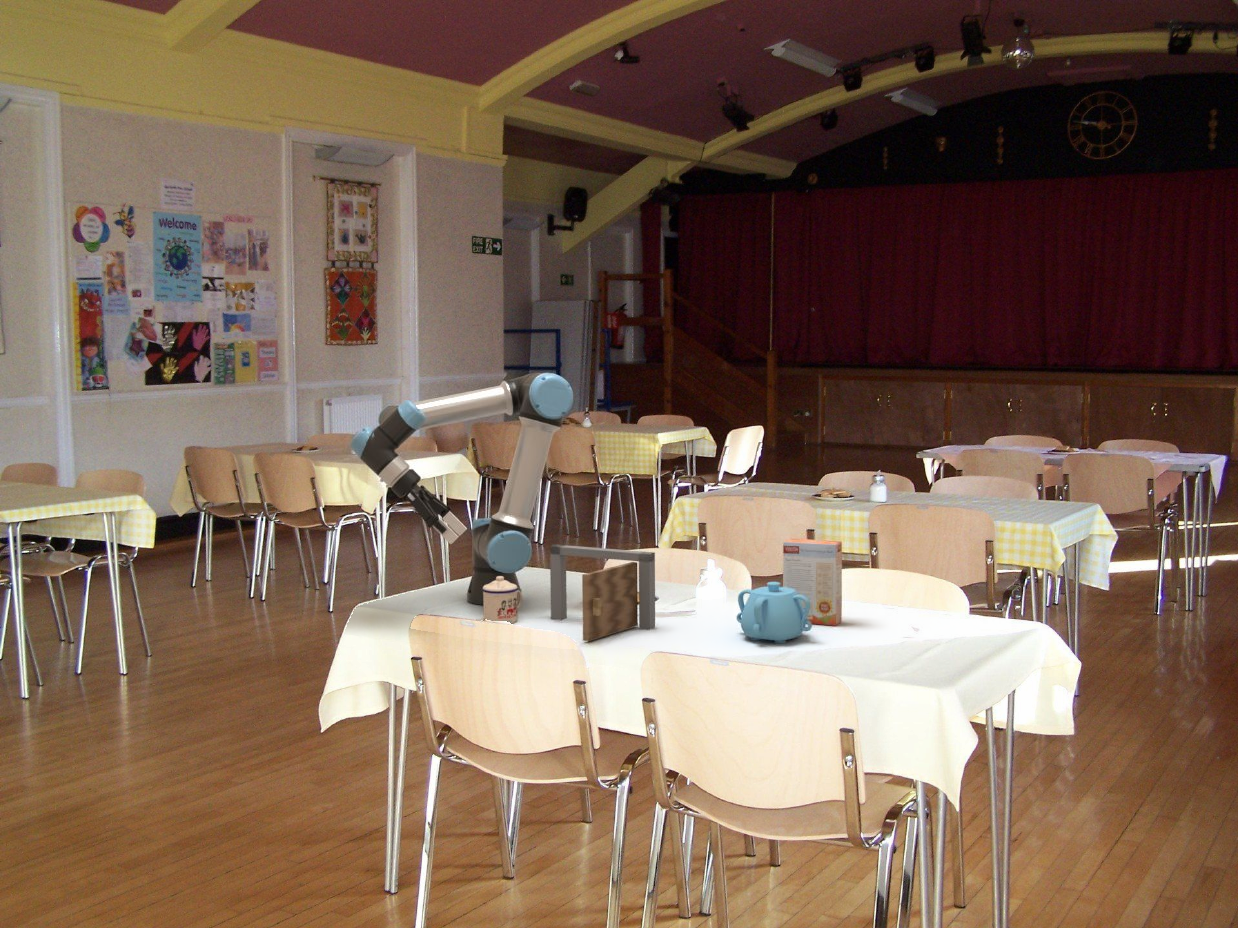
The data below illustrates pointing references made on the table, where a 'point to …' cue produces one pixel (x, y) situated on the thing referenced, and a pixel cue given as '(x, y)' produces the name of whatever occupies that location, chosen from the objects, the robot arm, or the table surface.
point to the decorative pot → (773, 613)
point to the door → (609, 600)
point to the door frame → (644, 558)
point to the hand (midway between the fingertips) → (459, 536)
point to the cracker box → (815, 577)
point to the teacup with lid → (501, 600)
